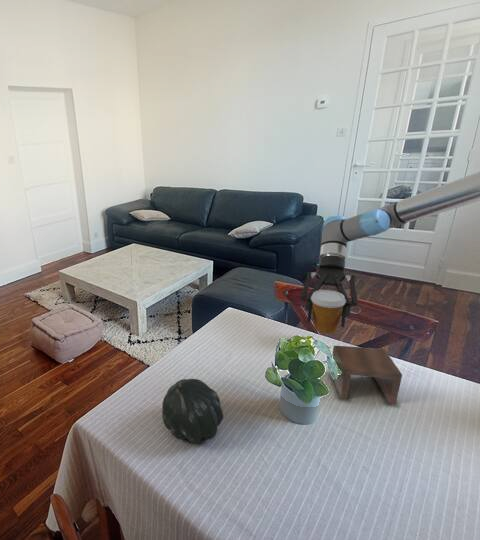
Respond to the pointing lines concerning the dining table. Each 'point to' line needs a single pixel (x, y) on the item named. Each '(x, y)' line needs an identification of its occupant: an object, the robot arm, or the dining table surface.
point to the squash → (192, 410)
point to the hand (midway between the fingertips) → (325, 323)
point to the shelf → (367, 369)
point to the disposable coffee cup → (327, 310)
